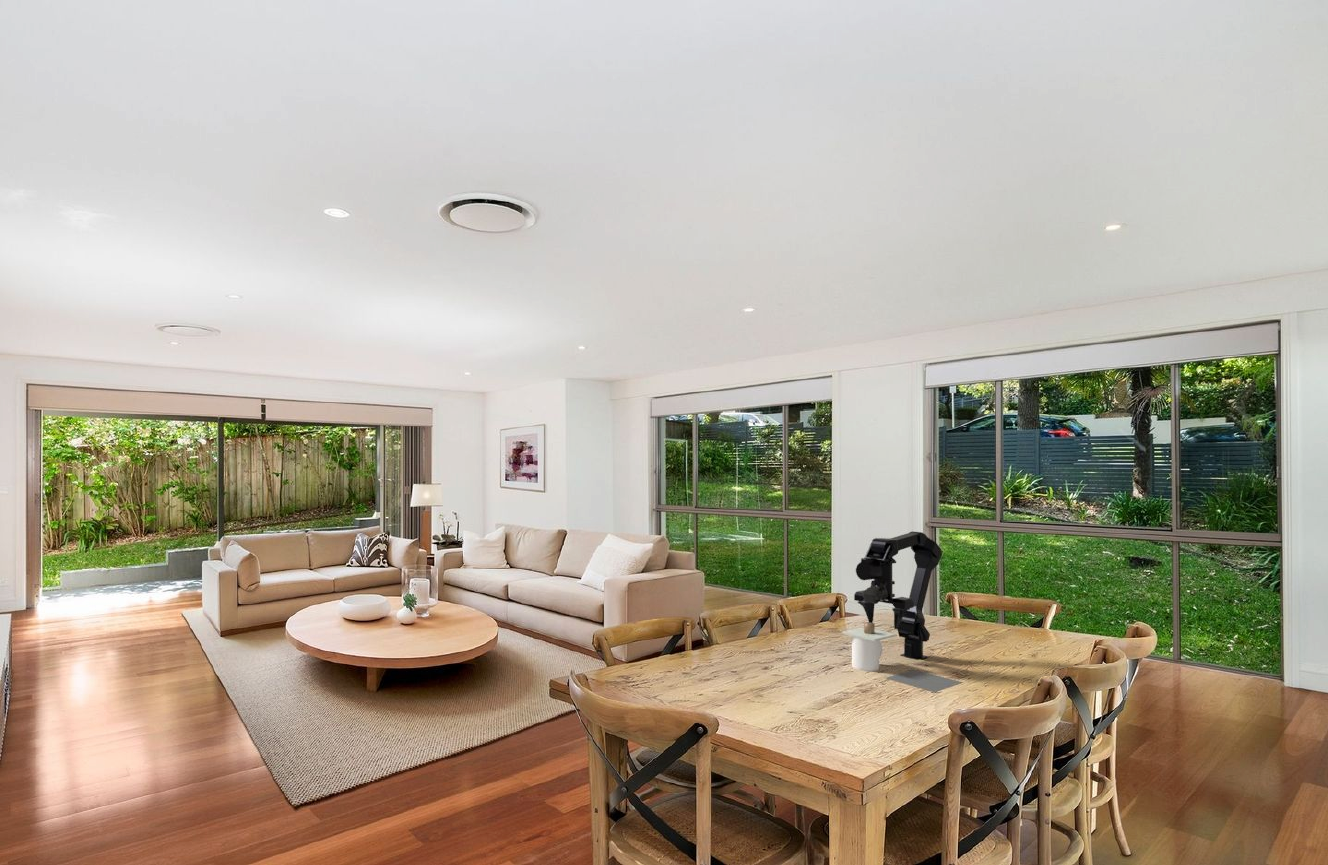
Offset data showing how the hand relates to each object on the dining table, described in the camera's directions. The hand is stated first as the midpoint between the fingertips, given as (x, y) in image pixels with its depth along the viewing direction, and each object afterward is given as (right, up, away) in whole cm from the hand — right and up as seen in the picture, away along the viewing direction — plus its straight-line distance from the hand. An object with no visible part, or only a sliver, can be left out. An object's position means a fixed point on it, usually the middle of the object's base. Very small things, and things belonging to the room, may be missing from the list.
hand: (883, 626), depth 222 cm
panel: (-6, -1, -5) cm, 8 cm away
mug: (-6, -12, -5) cm, 14 cm away
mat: (+6, -11, -19) cm, 23 cm away
